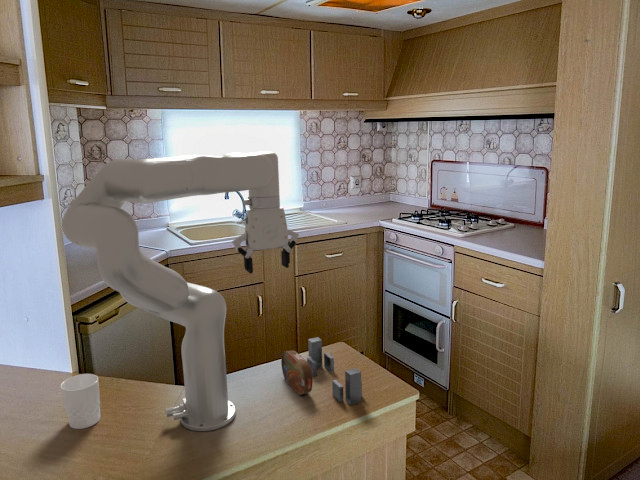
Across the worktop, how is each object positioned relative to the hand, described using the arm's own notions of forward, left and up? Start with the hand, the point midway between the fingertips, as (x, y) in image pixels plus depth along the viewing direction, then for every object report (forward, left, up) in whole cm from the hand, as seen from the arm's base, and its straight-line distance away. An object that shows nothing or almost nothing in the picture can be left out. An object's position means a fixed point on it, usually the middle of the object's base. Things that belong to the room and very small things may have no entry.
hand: (267, 269), depth 131 cm
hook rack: (+13, -10, -30) cm, 34 cm away
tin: (+4, -7, -31) cm, 32 cm away
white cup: (-46, +2, -31) cm, 55 cm away
